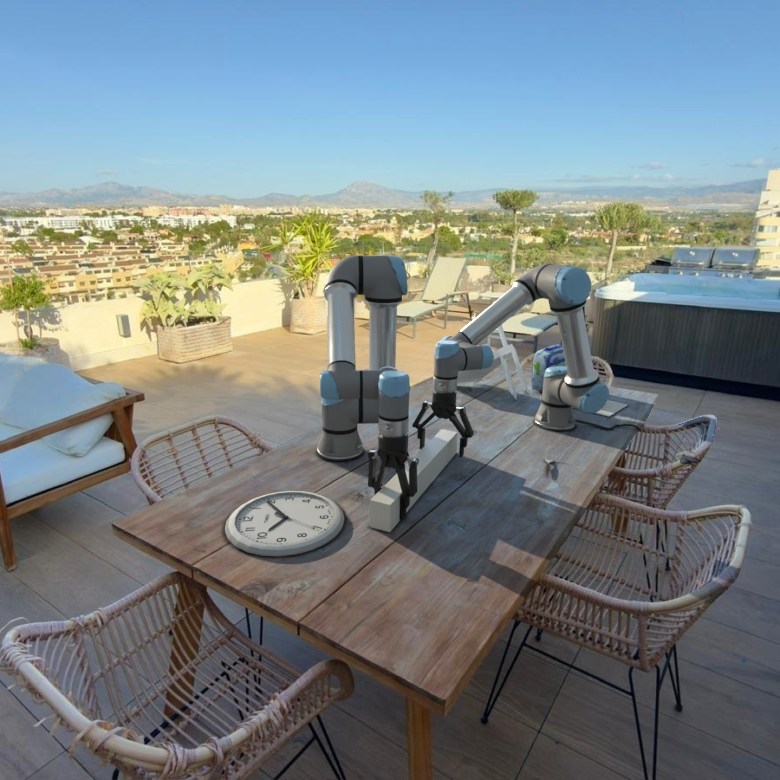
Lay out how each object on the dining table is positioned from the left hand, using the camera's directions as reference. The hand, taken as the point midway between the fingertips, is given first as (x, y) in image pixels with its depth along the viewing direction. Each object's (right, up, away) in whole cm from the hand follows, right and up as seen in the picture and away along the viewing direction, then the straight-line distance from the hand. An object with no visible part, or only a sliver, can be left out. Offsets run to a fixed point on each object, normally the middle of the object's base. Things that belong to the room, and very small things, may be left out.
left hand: (391, 514), depth 138 cm
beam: (+8, +5, +17) cm, 20 cm away
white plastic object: (+41, +32, +105) cm, 117 cm away
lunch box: (+77, +33, +112) cm, 140 cm away
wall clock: (-27, -1, -3) cm, 27 cm away
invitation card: (+91, +26, +88) cm, 129 cm away
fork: (+50, +8, +30) cm, 59 cm away
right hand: (+16, +13, +33) cm, 39 cm away
